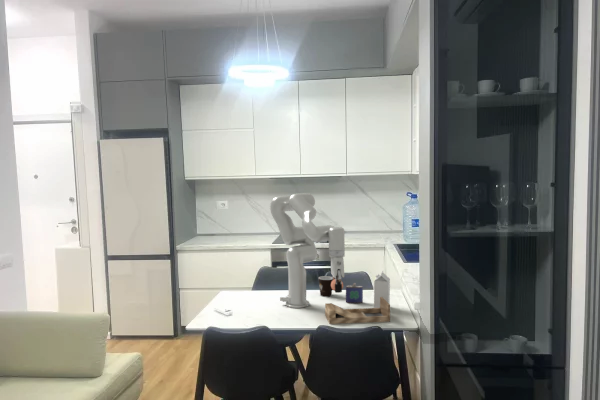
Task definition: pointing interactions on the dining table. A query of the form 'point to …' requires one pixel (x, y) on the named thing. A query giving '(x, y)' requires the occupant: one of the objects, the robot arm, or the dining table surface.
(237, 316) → the dining table surface
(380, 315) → the wooden tray
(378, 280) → the milk carton
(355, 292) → the flask
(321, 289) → the coffee mug
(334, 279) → the ball
